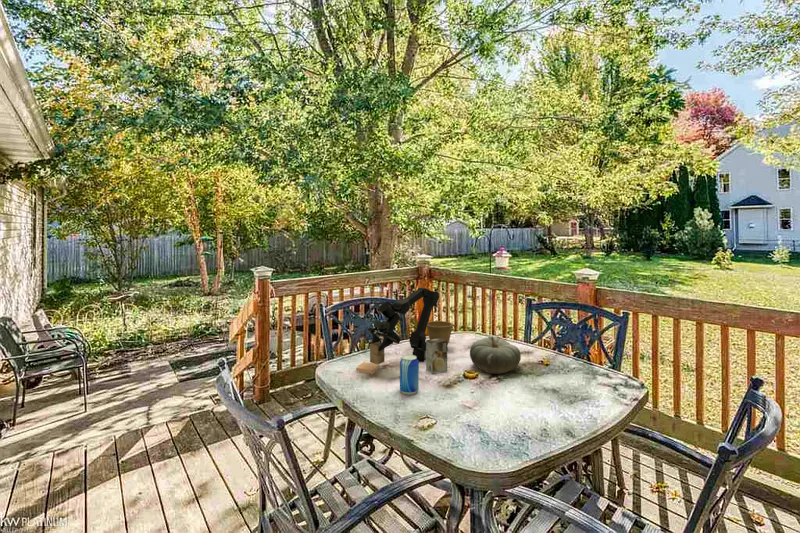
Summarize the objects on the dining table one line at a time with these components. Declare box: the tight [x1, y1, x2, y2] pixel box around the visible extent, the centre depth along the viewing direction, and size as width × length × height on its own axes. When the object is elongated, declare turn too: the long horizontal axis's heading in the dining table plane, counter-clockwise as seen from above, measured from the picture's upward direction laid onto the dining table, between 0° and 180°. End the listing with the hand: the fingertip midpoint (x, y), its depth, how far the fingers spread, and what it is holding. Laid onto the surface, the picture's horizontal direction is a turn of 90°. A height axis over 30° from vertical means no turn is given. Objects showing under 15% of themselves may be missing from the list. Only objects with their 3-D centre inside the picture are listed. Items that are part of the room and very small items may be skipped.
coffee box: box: [425, 338, 448, 375], centre depth 211 cm, size 9×6×16 cm
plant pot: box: [426, 320, 453, 347], centre depth 244 cm, size 15×15×16 cm
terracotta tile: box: [355, 361, 380, 375], centre depth 213 cm, size 9×9×2 cm
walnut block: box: [369, 342, 385, 365], centre depth 204 cm, size 5×5×9 cm
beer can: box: [399, 354, 420, 396], centre depth 185 cm, size 8×8×16 cm
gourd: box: [469, 335, 522, 375], centre depth 214 cm, size 25×25×17 cm
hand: (375, 349), depth 203 cm, fingers closed on walnut block, 5 cm apart
